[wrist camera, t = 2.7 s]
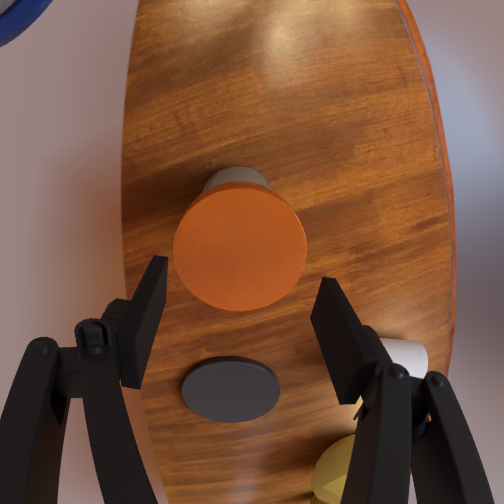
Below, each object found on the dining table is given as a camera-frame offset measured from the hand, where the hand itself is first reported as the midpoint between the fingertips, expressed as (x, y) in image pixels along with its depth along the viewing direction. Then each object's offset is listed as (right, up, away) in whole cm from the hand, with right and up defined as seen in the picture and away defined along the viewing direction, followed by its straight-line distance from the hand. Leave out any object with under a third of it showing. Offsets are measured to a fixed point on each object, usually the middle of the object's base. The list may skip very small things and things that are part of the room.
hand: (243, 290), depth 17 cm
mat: (-3, -18, +26) cm, 32 cm away
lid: (0, +2, +4) cm, 5 cm away
